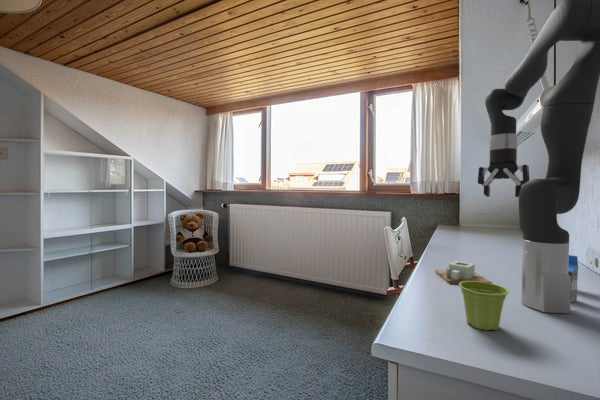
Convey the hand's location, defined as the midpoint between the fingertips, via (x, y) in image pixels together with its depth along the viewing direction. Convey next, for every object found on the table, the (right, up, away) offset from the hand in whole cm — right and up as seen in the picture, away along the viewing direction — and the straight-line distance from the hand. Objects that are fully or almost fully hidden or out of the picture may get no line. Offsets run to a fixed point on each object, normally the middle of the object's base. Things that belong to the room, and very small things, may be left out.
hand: (502, 196), depth 99 cm
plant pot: (-27, -30, -33) cm, 52 cm away
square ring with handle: (-14, -27, 0) cm, 31 cm away
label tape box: (+4, -29, -16) cm, 33 cm away
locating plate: (-13, -28, +2) cm, 31 cm away
